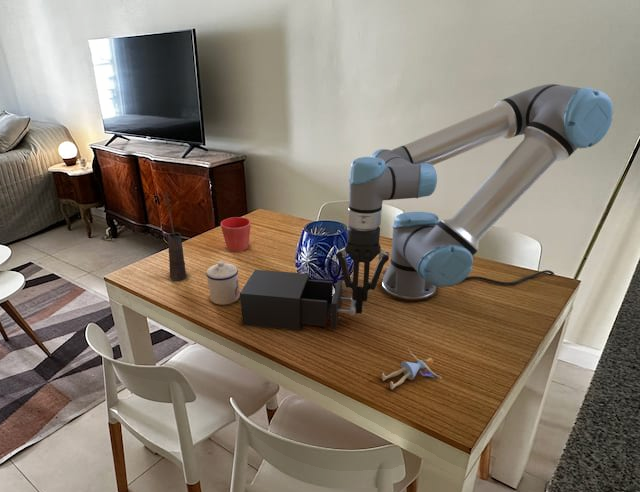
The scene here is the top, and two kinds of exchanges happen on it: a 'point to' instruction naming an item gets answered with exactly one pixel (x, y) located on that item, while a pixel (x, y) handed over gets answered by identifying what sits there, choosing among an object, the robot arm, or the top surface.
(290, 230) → the top surface
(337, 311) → the open drawer
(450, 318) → the top surface
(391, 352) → the top surface
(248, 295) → the dark grey box
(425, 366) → the fairy figurine
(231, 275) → the teacup with lid
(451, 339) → the top surface
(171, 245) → the butter churn
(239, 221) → the flower pot
